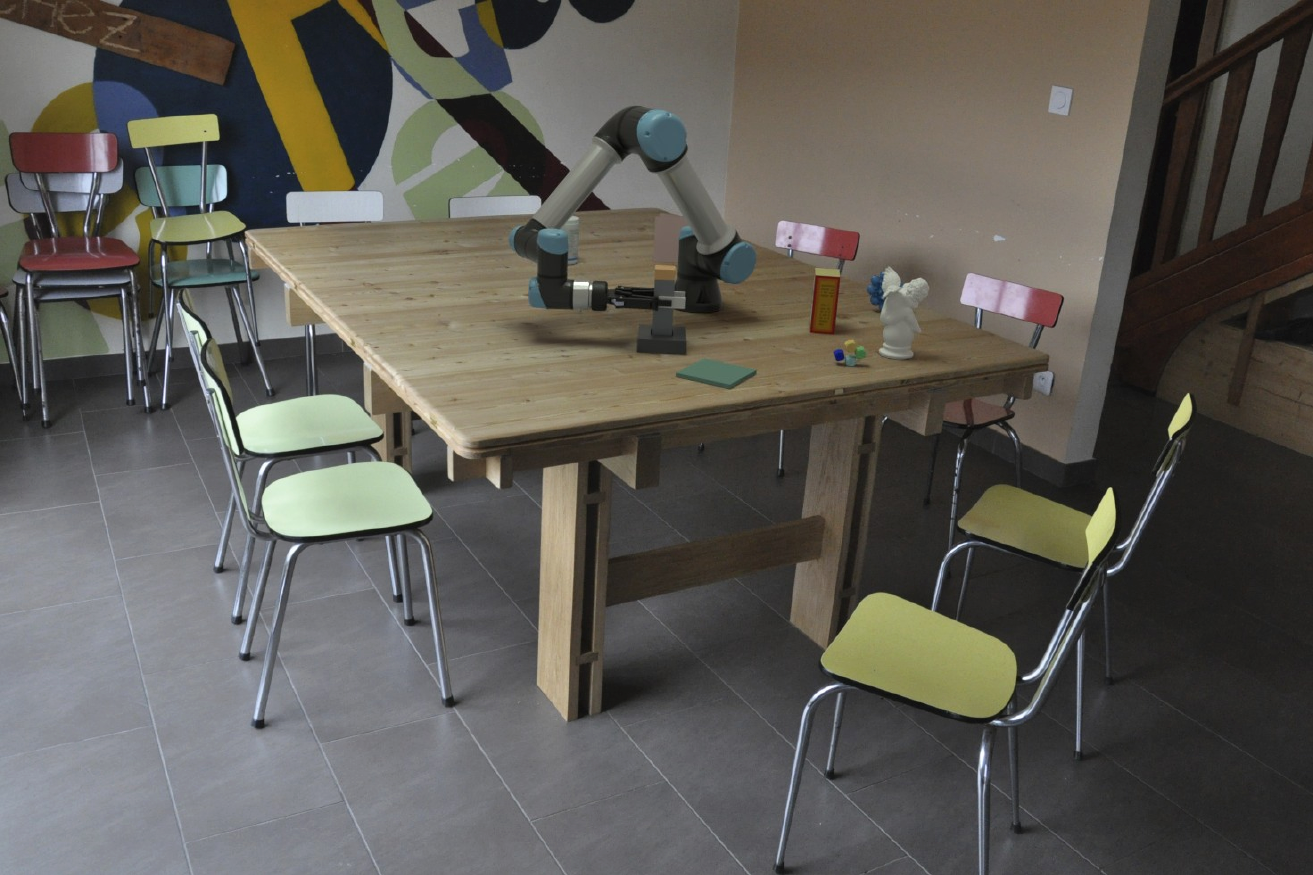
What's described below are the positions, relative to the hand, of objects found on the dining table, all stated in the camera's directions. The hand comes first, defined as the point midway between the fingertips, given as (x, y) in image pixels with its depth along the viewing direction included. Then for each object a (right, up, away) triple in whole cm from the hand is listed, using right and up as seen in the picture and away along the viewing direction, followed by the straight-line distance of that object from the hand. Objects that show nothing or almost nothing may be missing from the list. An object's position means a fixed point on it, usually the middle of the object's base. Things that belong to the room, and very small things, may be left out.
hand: (684, 300), depth 276 cm
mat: (+7, -19, -16) cm, 26 cm away
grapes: (+59, +2, +45) cm, 74 cm away
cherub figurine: (+52, -14, +6) cm, 54 cm away
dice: (+40, -16, -3) cm, 43 cm away
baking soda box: (+38, -5, +26) cm, 46 cm away
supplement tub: (-37, +23, +86) cm, 96 cm away
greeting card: (-3, +24, +95) cm, 98 cm away
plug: (-6, -9, +4) cm, 11 cm away
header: (-6, -11, +4) cm, 13 cm away
